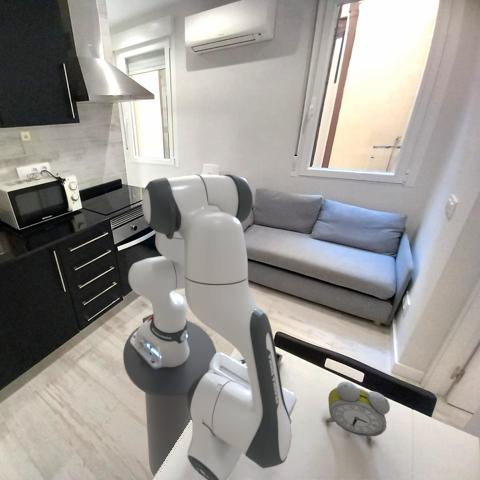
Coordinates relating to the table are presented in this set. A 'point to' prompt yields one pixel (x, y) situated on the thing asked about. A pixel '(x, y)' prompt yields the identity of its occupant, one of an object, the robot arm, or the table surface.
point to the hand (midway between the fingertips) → (259, 362)
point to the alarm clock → (358, 410)
